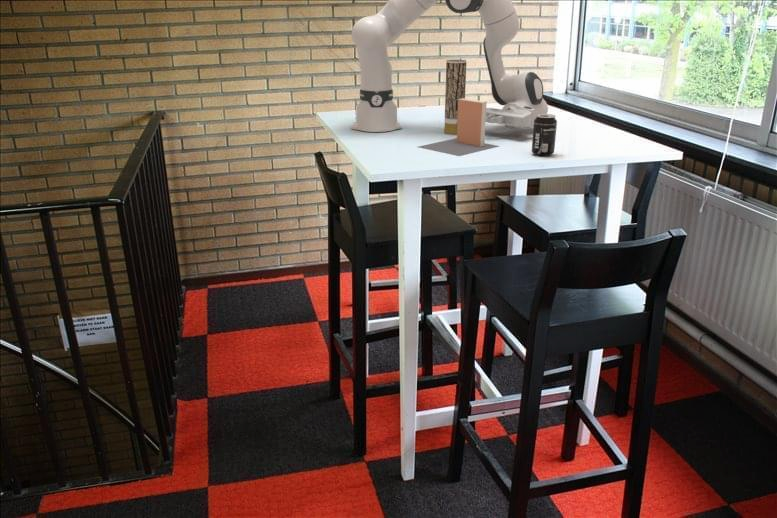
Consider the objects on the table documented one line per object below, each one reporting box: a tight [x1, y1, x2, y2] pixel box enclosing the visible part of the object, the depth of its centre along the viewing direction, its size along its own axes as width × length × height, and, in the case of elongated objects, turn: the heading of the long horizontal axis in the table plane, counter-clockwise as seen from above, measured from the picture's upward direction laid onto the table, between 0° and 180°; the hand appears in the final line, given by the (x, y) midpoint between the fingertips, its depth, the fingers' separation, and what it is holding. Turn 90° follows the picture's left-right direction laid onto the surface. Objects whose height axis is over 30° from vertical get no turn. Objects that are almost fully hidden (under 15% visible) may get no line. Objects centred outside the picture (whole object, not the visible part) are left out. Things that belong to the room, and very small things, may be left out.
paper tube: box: [443, 59, 467, 136], centre depth 228 cm, size 7×7×25 cm
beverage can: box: [531, 113, 558, 157], centre depth 201 cm, size 7×7×12 cm
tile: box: [456, 98, 487, 147], centre depth 214 cm, size 2×10×14 cm, turn 44°
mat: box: [417, 137, 500, 157], centre depth 213 cm, size 20×18×1 cm
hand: (488, 120), depth 220 cm, fingers closed
